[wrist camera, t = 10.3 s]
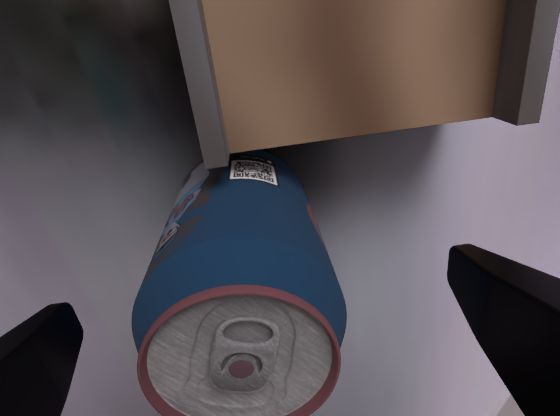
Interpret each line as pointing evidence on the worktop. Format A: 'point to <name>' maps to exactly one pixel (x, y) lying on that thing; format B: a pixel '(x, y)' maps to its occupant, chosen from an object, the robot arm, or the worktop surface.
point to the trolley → (357, 67)
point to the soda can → (239, 298)
